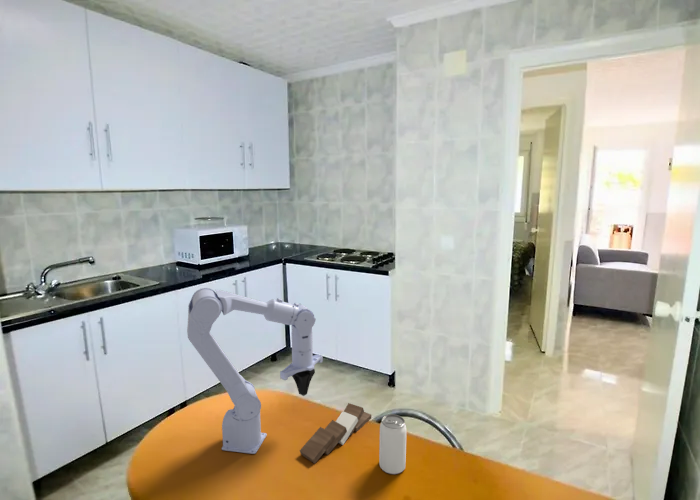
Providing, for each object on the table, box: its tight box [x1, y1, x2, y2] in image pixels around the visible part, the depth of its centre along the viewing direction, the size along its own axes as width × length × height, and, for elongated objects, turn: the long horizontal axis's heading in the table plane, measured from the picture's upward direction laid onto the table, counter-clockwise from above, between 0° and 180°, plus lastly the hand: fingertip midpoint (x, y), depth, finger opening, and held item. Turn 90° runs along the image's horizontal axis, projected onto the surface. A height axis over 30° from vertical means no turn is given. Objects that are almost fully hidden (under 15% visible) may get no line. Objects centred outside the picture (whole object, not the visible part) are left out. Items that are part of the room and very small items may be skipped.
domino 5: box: [353, 411, 372, 433], centre depth 108 cm, size 2×5×8 cm
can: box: [378, 413, 407, 475], centre depth 90 cm, size 6×6×12 cm
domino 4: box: [335, 410, 358, 446], centre depth 102 cm, size 2×5×8 cm
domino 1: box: [299, 426, 335, 465], centre depth 95 cm, size 2×5×8 cm
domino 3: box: [343, 402, 365, 436], centre depth 106 cm, size 2×5×8 cm
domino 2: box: [323, 419, 347, 456], centre depth 98 cm, size 2×5×8 cm
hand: (302, 393), depth 104 cm, fingers closed
